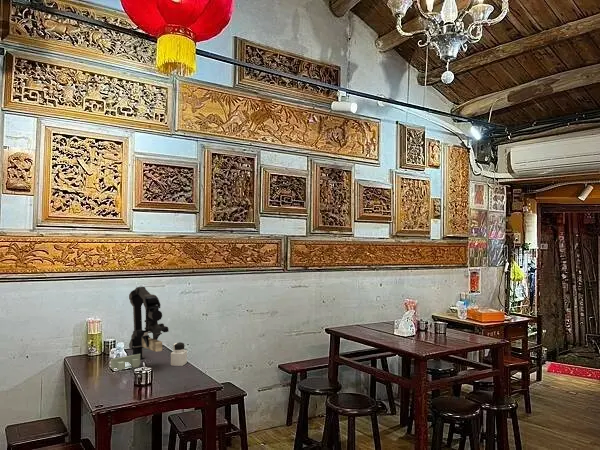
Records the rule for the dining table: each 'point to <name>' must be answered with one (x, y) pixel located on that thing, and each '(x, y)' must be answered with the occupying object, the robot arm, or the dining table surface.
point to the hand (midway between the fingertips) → (151, 346)
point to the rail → (152, 344)
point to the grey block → (120, 361)
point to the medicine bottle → (178, 355)
